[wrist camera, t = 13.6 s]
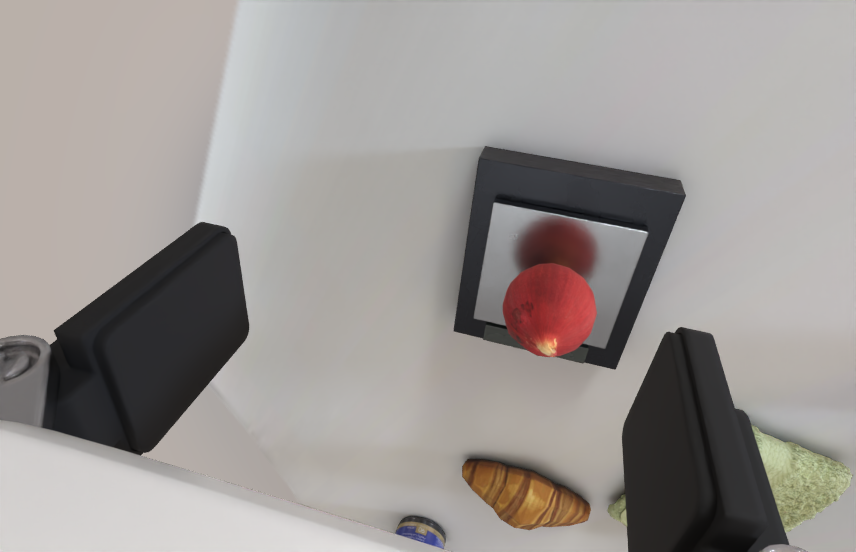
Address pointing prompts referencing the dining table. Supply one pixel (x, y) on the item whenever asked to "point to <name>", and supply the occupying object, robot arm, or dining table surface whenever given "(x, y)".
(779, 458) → the washcloth
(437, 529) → the pill bottle
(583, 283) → the onion
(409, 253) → the dining table surface
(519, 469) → the croissant
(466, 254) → the scale
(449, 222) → the dining table surface
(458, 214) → the dining table surface
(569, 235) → the scale pan
